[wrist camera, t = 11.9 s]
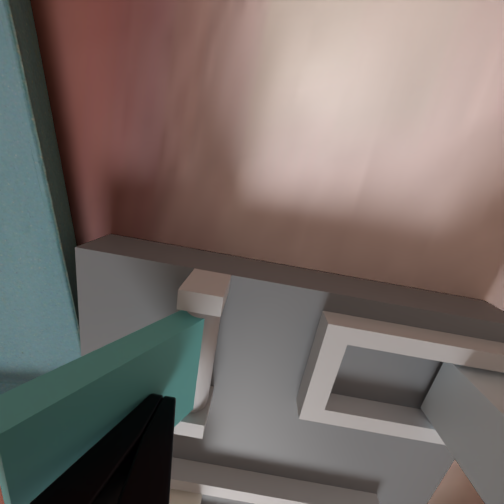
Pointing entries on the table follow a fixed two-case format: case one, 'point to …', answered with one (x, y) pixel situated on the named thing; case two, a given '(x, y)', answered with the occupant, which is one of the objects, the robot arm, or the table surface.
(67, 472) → the robot arm
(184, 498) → the cream slider
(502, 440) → the grey slider
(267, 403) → the panel
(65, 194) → the rectangular tray
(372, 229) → the table surface
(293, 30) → the table surface
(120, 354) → the paddle lever
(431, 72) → the table surface
